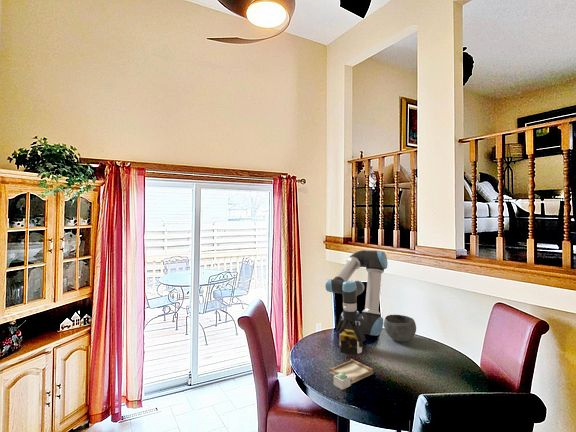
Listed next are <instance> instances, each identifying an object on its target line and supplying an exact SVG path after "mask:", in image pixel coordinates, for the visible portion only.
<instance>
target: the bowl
mask: <svg viewBox="0 0 576 432" xmlns="http://www.w3.org/2000/svg"><path fill="white" fill-rule="evenodd" d="M383 327H384V330H385V332H386V334H387V335H388V337H390V338H391V339H393V340H394V341H395V342H398V343H406V342H407V343H408V342H409V341H411V340H412V339H413V338H414V337H415V336H416V333H417V324H416V322H415V319H414V318H413V317H410V316H407V315H402V314H388V315H386V316H385V318H384V319H383Z"/></svg>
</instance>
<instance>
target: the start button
mask: <svg viewBox="0 0 576 432" xmlns="http://www.w3.org/2000/svg"><path fill="white" fill-rule="evenodd" d="M338 378H340V379H341V380H343V379H345V373H339V374H338Z"/></svg>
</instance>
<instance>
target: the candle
mask: <svg viewBox="0 0 576 432" xmlns="http://www.w3.org/2000/svg"><path fill="white" fill-rule="evenodd" d="M339 341H340V342H341V347H339V349H340V353H342V354H347V355H353V356H359V355H360V354H361V353H359V354H358V353H357V341H358V339H357V337H356V335H355V333H354V331H353V330H348V329H345V330H344V331H343V332H342V333H341V334H340V339H339ZM363 349H364V348H363V346H362V350H363Z"/></svg>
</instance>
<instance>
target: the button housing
mask: <svg viewBox="0 0 576 432" xmlns="http://www.w3.org/2000/svg"><path fill="white" fill-rule="evenodd" d="M333 386H335V388H338V389H339V390H341V391H342V390H345V389H347V388H349V387H351V384H350V377H349V376H347V375H345V379H343V380H341V379H340V378H338V374H337V375H333Z"/></svg>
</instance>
